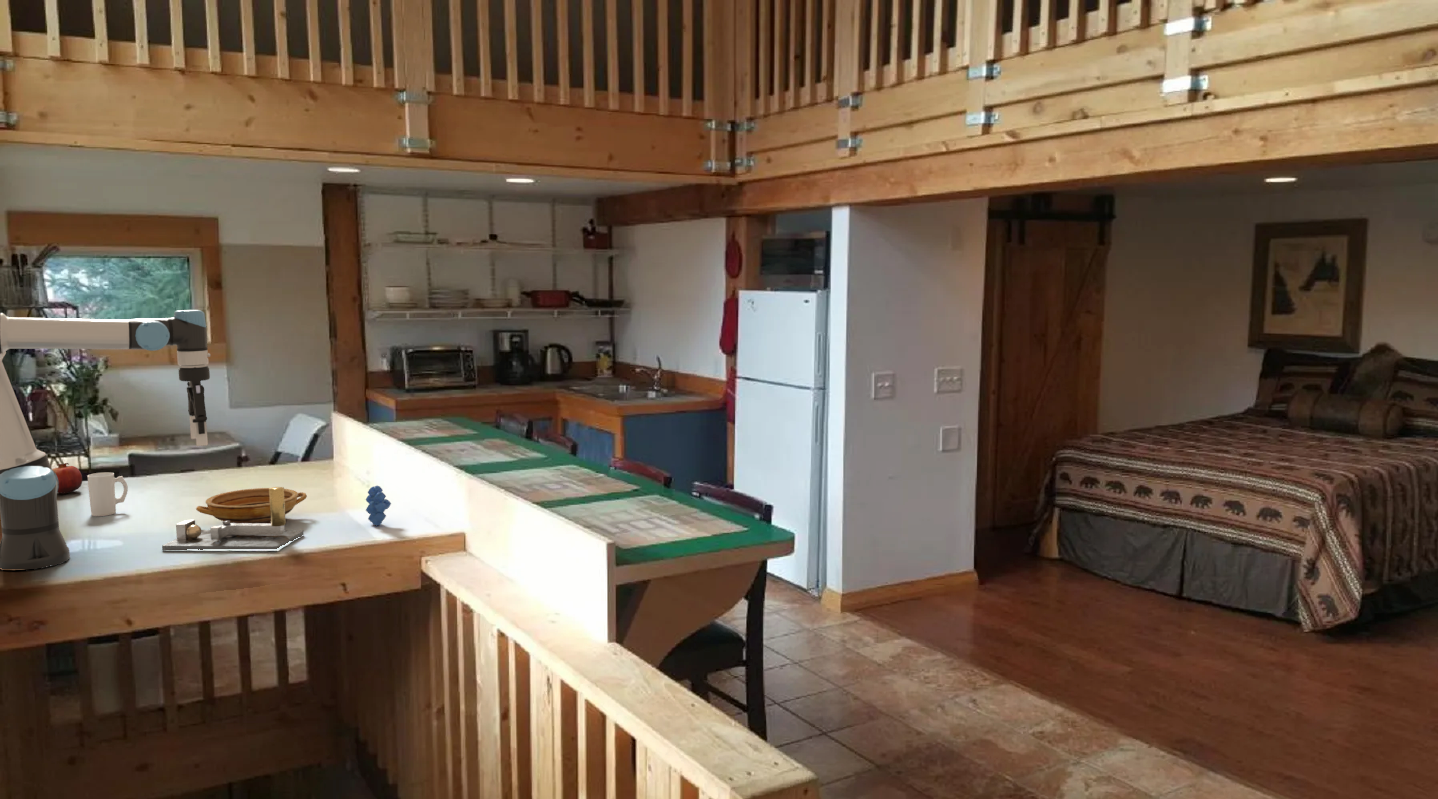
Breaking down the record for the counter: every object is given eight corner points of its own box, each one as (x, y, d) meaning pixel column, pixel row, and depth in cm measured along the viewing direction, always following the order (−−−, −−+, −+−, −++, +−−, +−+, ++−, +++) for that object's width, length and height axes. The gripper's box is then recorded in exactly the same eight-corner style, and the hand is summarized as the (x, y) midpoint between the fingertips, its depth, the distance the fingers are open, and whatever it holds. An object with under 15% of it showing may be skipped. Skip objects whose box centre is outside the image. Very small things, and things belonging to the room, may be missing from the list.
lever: (274, 540, 260) (271, 493, 258) (211, 539, 260) (208, 493, 258) (288, 532, 268) (286, 486, 266) (227, 531, 268) (224, 486, 267)
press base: (277, 552, 257) (275, 531, 256) (162, 551, 257) (161, 530, 256) (303, 535, 272) (302, 516, 272) (195, 535, 273) (194, 515, 272)
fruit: (66, 497, 317) (63, 467, 316) (38, 496, 319) (36, 465, 318) (92, 490, 328) (89, 460, 327) (65, 489, 329) (63, 459, 328)
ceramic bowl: (208, 541, 267) (206, 512, 266) (187, 523, 285) (186, 496, 284) (320, 523, 286) (319, 496, 285) (294, 508, 304) (293, 482, 303)
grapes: (399, 527, 282) (397, 486, 280) (375, 531, 277) (373, 489, 276) (385, 519, 291) (383, 479, 289) (361, 523, 287) (360, 482, 285)
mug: (91, 517, 291) (88, 477, 290) (88, 513, 297) (85, 474, 295) (131, 512, 298) (128, 473, 296) (127, 508, 303) (124, 470, 301)
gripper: (214, 369, 264) (220, 447, 267) (203, 361, 285) (208, 434, 288) (182, 370, 260) (188, 450, 263) (174, 363, 281) (179, 436, 284)
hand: (199, 442), depth 275 cm, fingers open, 13 cm apart
